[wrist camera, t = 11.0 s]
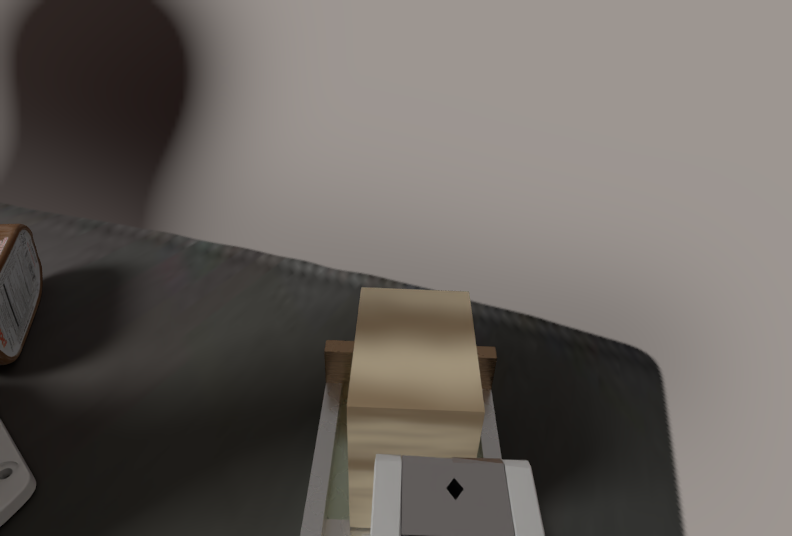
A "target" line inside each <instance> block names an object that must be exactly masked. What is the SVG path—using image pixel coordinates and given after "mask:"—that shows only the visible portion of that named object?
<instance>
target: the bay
mask: <svg viewBox="0 0 792 536" xmlns="http://www.w3.org/2000/svg"><path fill="white" fill-rule="evenodd" d="M354 343H355V341H338V340H326V346H325V351H324V352H325V370H326V387H325V392H324V398H323V404H322V410H321V416H320V422H319V428H318V434H317V440H316V446H315V451H314V457H313V463H312V469H311V475H310V481H309V487H308V493H307V499H306V505H305V510H304V516H303V522H302V528H301V534H300V536H362V534H370V529H371V528H356V527H350V517H349V479H348V441H347V399H348V391H349V383H350V375H351V367H352V359H353V351H354ZM476 348H477V355H478V363H479V370H480V378H481V385H482V393H483V400H484V408H485V415H484V421H483V426H482V432H481V437H480V443H479V448H478V453H477V458H500V459H501V460H502V458H501V451H500V444H499V438H498V431H497V425H496V418H495V411H494V405H493V398H492V392H491V388H492V382H493V377H494V371H495V366H496V361H497V356H496V350H495V347H485V346H476Z"/></svg>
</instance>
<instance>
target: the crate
mask: <svg viewBox="0 0 792 536" xmlns="http://www.w3.org/2000/svg"><path fill="white" fill-rule="evenodd" d="M484 415H485V408H484V400H483V393H482V385H481V378H480V370H479V363H478V355H477V348H476V341H475V333H474V326H473V318H472V311H471V303H470V296H469V292H464V291H440V290H415V289H390V288H366V287H361V294H360V302H359V310H358V318H357V326H356V334H355V343H354V351H353V359H352V367H351V375H350V383H349V391H348V399H347V441H348V479H349V517H350V527H356V528H371V513H372V497H373V481H374V465H375V458H376V454H393V455H401V458H402V455H408V456H425V457H442V458H451V457H462V458H477V453H478V448H479V443H480V437H481V432H482V426H483V421H484Z"/></svg>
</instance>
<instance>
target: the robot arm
mask: <svg viewBox="0 0 792 536" xmlns="http://www.w3.org/2000/svg"><path fill="white" fill-rule="evenodd" d="M9 475H10V476H9ZM7 476H9V477H8V478H6V479H4V478H5V477H7ZM35 488H36V480H35V478H34V476H33V474H32V473H31V471H30V469H29V467H28V466H27V464H26V462H25V460H24V459H23V457H22V455H21V453H20V452H19V450H18V448H17V446H16V445H15V443H14V441H13V439H12V438H11V436H10V434H9V432H8V431H7V429H6V427H5V425H4V424H3V422H2V420H1V418H0V527H1V526H2V525H3V524H4V523H5V522H6V521H7V520H8V519H9V518H10V517H11V516H12V515H13V514H15V513H16V512H17V511H18V510H19V509H20V508H21V507H22V506H23V505H24V504H25V503H26V501H27V500H28V499H29V498H30V497H31V495H32V494H33V492H34V491H35ZM362 536H545V533H544V528H543V523H542V518H541V513H540V508H539V503H538V498H537V493H536V488H535V483H534V478H533V474H532V469H531V465H530V464H529V462H528V461H527V460H501V459H500V458H462V457H451V458H442V457H425V456H408V455H402V458H401V455H393V454H376V458H375V465H374V481H373V497H372V513H371V529H370V534H362Z"/></svg>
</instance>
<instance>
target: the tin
mask: <svg viewBox="0 0 792 536" xmlns="http://www.w3.org/2000/svg"><path fill="white" fill-rule="evenodd" d="M42 280H43V278H42V266H41V262H40V259H39V257H38V254H37V250H36V246H35V243H34V240H33V235H32V232H31V230H30V229H29V228H28V227H27V226H25V225H23V224H0V365H6V364H9V363H12V362H14V361H15V360H16V359H17V358H18V357H19V355H20V353H21V351H22V348H23V346H24V343H25V340H26V338H27V335H28V332H29V330H30V327H31V324H32V322H33V319H34V316H35V313H36V311H37V308H38V305H39V302H40V299H41V294H42Z"/></svg>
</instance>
